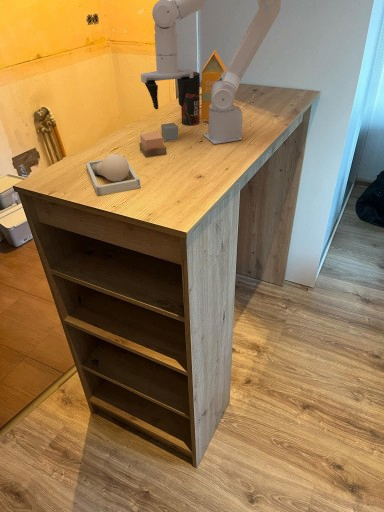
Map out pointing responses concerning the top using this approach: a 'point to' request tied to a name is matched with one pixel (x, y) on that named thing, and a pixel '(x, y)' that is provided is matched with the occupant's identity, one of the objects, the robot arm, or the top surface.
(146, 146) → the terracotta slab
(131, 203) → the top surface
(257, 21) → the robot arm
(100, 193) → the grey tray rim
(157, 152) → the walnut slab
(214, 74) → the orange juice
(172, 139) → the slate cube
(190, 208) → the top surface
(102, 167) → the light bulb
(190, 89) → the deodorant
